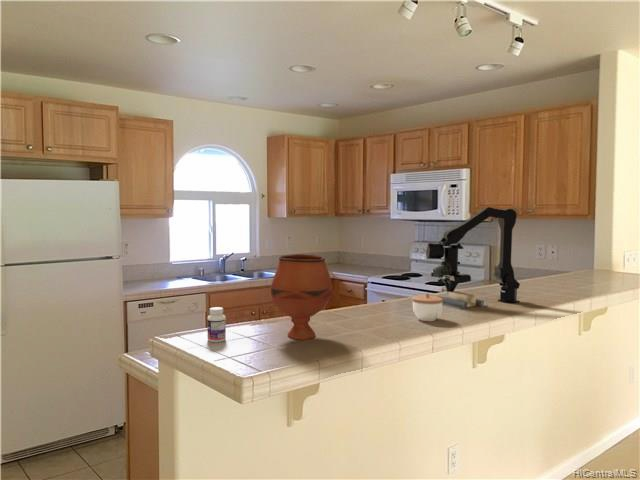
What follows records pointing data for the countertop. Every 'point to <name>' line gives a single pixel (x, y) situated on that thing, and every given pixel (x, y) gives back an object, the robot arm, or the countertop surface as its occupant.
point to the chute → (459, 303)
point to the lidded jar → (427, 307)
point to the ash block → (463, 297)
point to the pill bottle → (216, 325)
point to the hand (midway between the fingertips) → (449, 295)
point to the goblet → (301, 290)
